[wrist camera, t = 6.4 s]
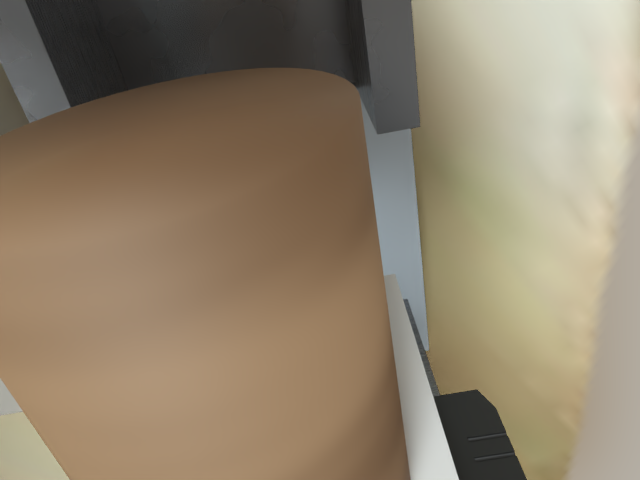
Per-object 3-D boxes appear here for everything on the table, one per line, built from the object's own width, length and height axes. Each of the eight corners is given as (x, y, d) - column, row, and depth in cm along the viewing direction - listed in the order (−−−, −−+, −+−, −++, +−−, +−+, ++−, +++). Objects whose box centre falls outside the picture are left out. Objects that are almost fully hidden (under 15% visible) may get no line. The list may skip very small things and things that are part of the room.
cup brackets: (238, 369, 28) (213, 629, 18) (75, -93, 17) (-239, -116, 7) (405, 340, 28) (479, 587, 17) (350, -149, 17) (462, -263, 6)
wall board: (219, 372, 28) (217, 386, 27) (45, -87, 17) (33, -87, 16) (424, 336, 28) (429, 350, 27) (381, -156, 17) (386, -160, 16)
